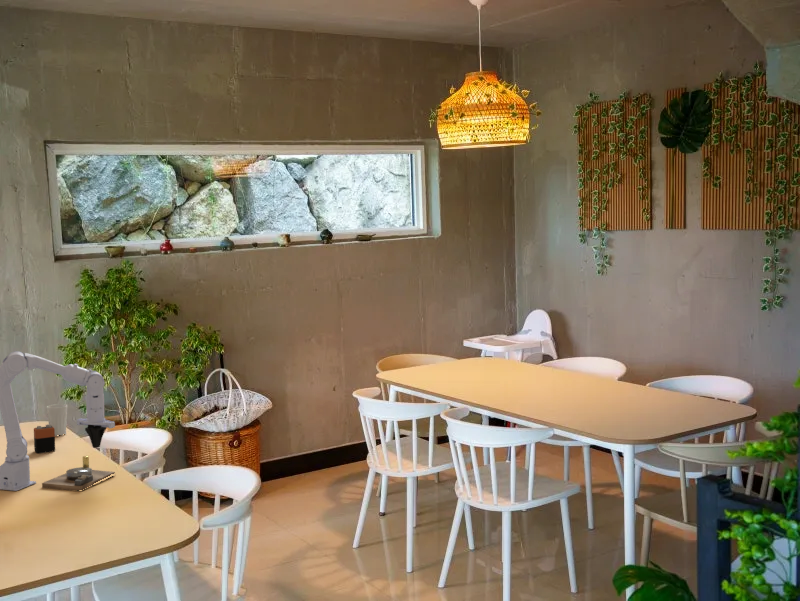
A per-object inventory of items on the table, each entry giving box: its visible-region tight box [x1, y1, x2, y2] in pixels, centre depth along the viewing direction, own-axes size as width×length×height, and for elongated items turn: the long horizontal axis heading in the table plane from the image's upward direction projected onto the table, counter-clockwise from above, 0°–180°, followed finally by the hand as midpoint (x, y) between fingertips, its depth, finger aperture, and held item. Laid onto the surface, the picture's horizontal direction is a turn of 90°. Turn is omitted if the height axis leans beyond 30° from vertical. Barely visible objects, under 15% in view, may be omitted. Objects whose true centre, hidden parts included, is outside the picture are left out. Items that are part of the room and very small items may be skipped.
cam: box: [66, 455, 93, 480], centre depth 289 cm, size 12×8×5 cm
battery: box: [33, 423, 56, 454], centre depth 327 cm, size 4×7×10 cm, turn 123°
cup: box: [46, 403, 68, 437], centre depth 353 cm, size 8×8×12 cm
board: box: [41, 469, 116, 491], centre depth 287 cm, size 18×15×4 cm
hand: (96, 447), depth 292 cm, fingers closed
